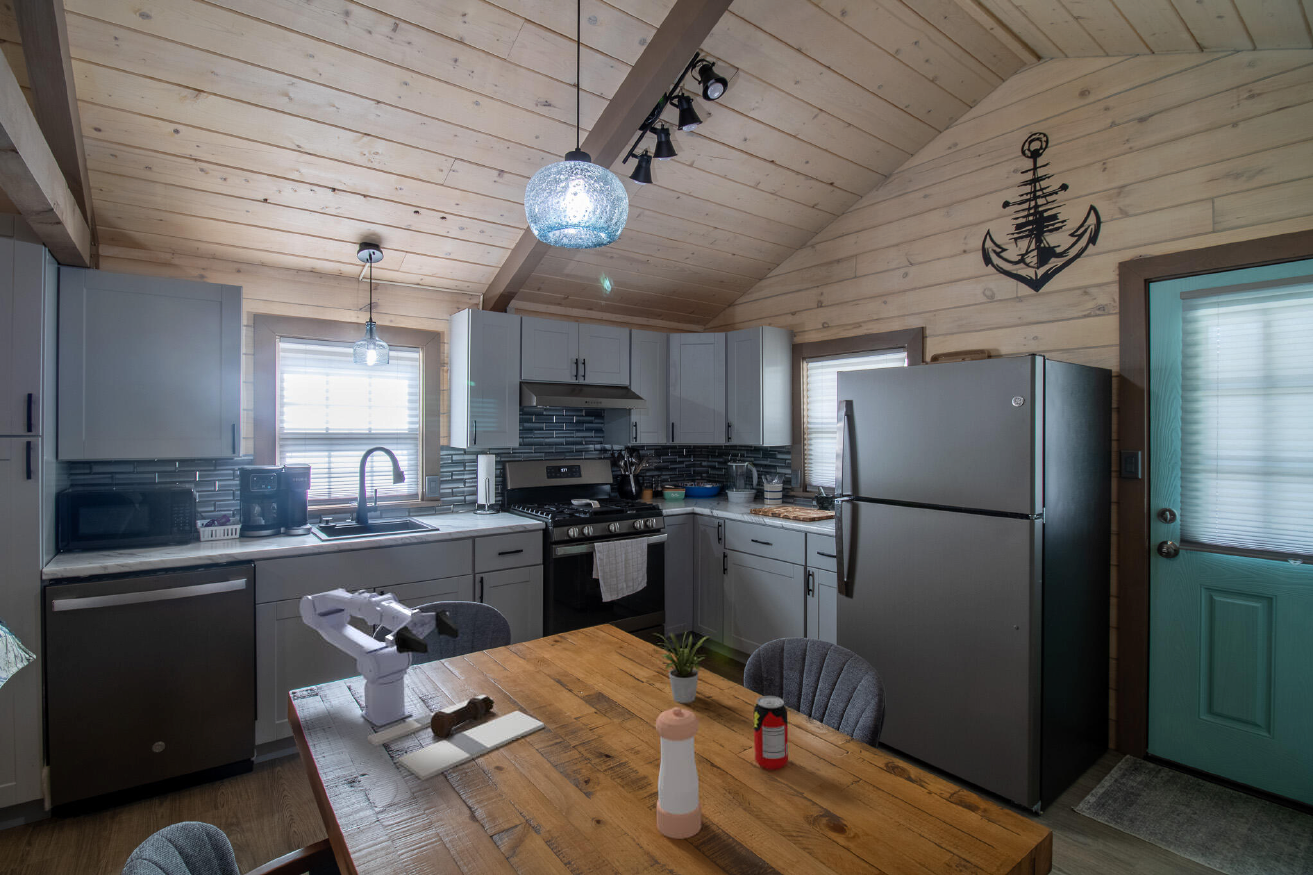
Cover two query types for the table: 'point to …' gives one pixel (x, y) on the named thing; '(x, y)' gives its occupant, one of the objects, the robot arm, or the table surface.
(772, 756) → the beverage can
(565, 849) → the table surface
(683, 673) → the house plant
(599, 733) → the table surface
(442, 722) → the bolt
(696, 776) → the pepper shaker
